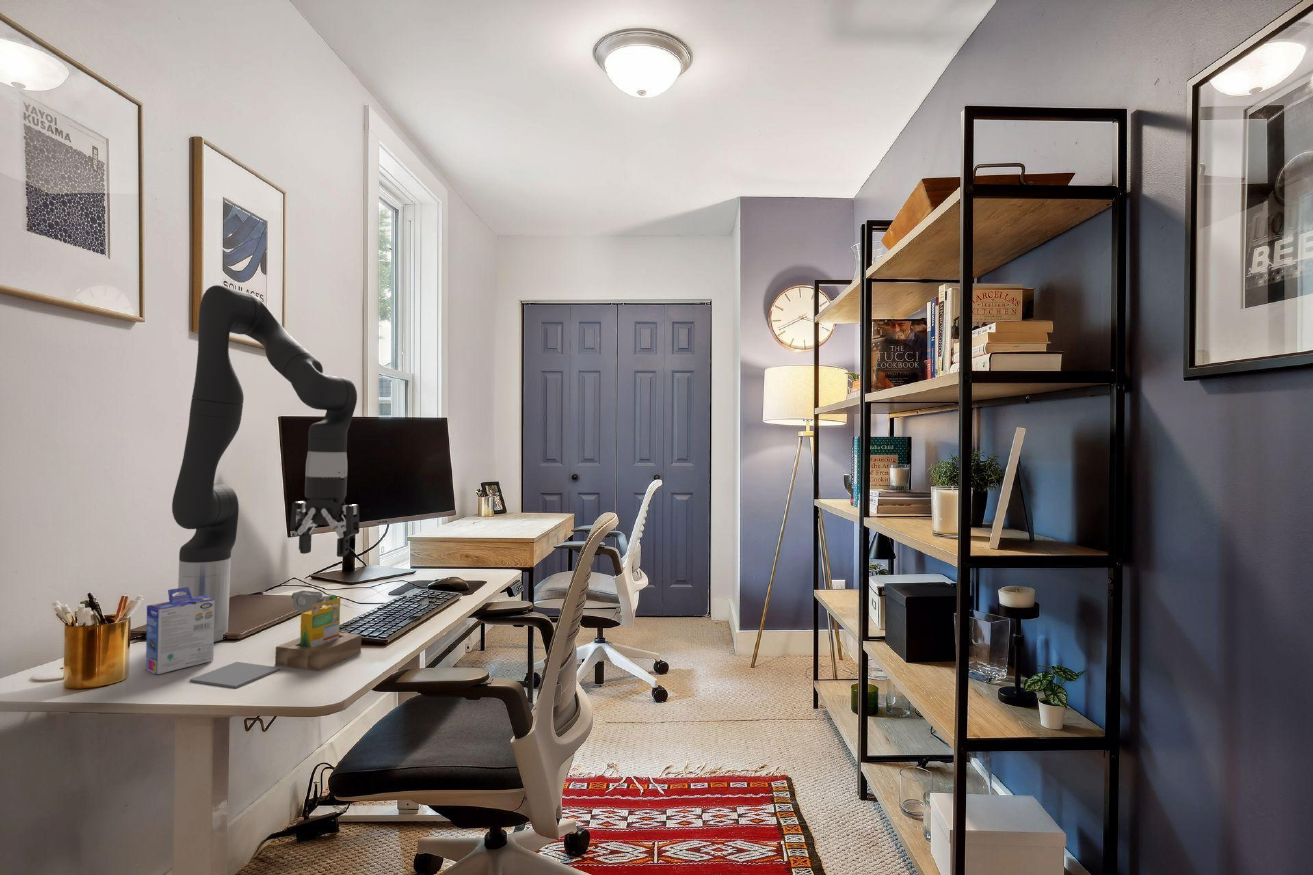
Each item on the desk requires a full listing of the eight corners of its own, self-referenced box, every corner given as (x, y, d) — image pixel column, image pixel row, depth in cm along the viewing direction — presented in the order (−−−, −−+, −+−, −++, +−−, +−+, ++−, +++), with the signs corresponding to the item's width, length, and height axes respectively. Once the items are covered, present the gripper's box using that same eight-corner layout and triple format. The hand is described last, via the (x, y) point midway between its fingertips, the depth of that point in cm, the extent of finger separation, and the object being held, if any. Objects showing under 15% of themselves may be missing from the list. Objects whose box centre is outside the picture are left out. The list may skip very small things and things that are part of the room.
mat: (189, 681, 119) (189, 679, 119) (236, 663, 129) (236, 661, 129) (236, 688, 117) (236, 685, 117) (280, 669, 127) (280, 667, 127)
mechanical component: (328, 642, 144) (330, 596, 144) (287, 638, 146) (289, 592, 146) (338, 639, 147) (339, 593, 147) (297, 634, 149) (299, 589, 149)
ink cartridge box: (200, 655, 133) (203, 583, 133) (215, 661, 130) (218, 587, 130) (142, 669, 124) (145, 591, 124) (156, 675, 122) (160, 596, 122)
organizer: (275, 664, 129) (275, 646, 129) (319, 646, 141) (320, 629, 141) (319, 670, 127) (320, 652, 127) (360, 651, 139) (361, 634, 139)
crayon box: (328, 651, 138) (330, 595, 138) (339, 653, 137) (341, 597, 137) (298, 662, 131) (300, 603, 131) (309, 664, 130) (312, 605, 130)
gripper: (282, 473, 132) (279, 555, 132) (344, 476, 129) (341, 560, 129) (309, 472, 140) (307, 549, 140) (369, 475, 136) (366, 554, 136)
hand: (323, 554), depth 134 cm, fingers open, 8 cm apart
